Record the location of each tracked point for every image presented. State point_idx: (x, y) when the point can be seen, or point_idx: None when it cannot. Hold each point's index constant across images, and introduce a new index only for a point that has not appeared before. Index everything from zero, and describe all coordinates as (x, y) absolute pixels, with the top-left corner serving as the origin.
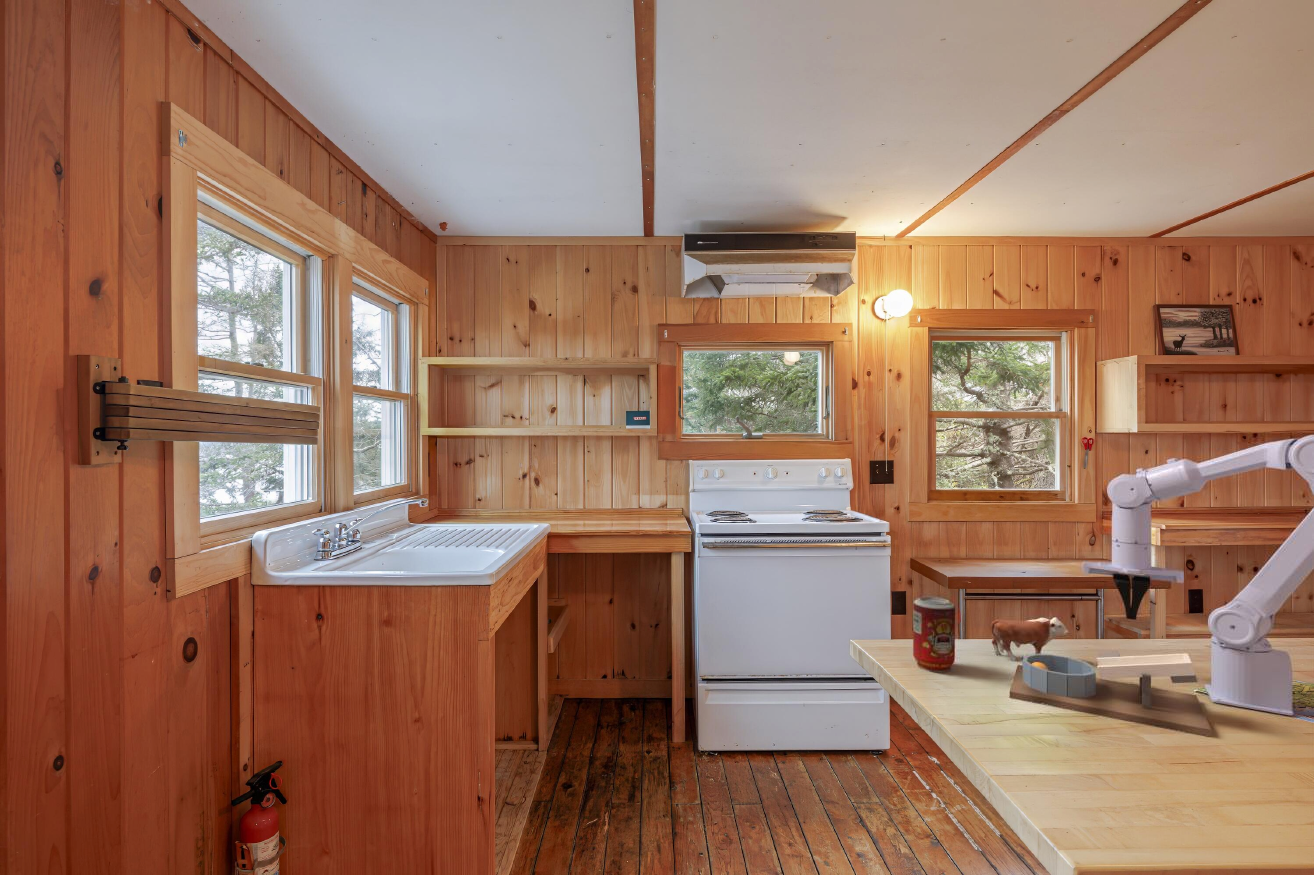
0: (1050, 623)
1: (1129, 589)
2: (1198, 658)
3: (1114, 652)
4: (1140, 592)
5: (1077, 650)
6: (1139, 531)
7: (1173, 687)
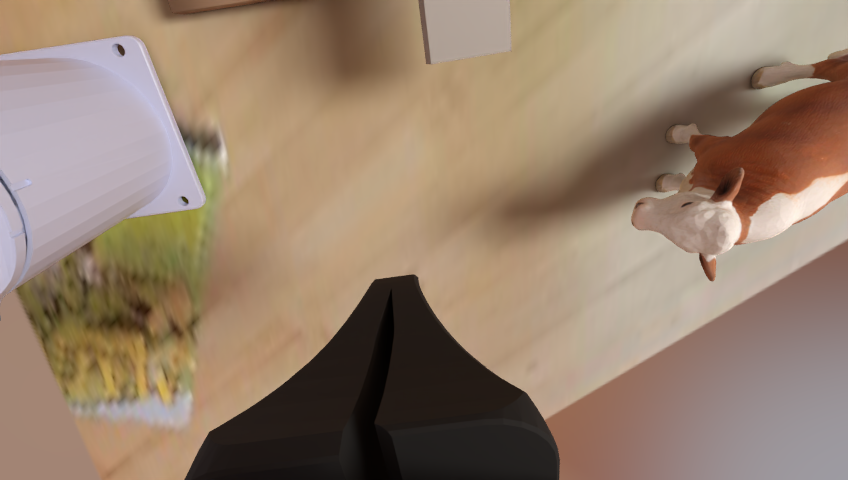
0: (733, 207)
1: (393, 386)
2: None
3: (445, 37)
4: (306, 385)
5: (553, 324)
6: None
7: (276, 136)
